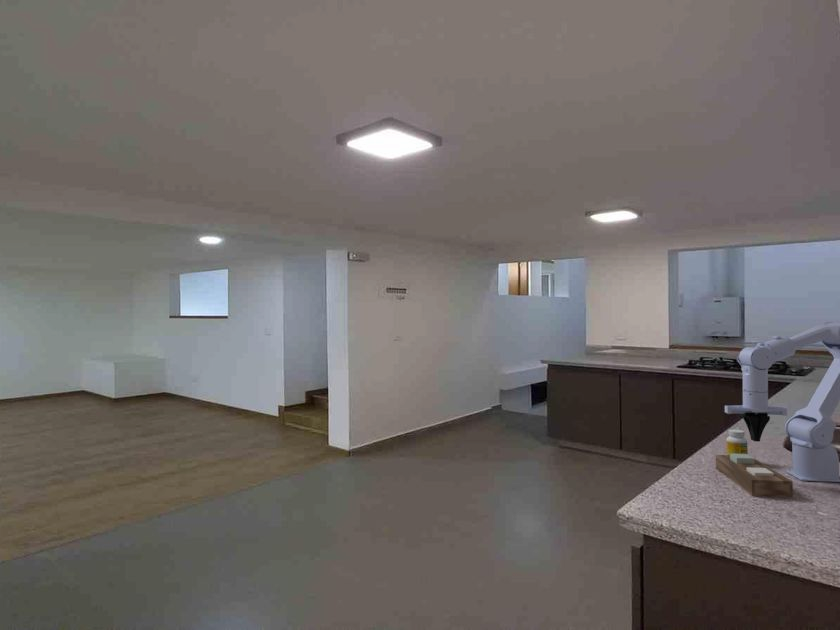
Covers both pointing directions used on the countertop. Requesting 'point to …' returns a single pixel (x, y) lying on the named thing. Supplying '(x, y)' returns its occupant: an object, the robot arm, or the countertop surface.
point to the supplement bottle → (736, 442)
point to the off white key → (759, 471)
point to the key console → (755, 478)
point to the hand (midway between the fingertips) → (755, 440)
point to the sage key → (742, 459)
